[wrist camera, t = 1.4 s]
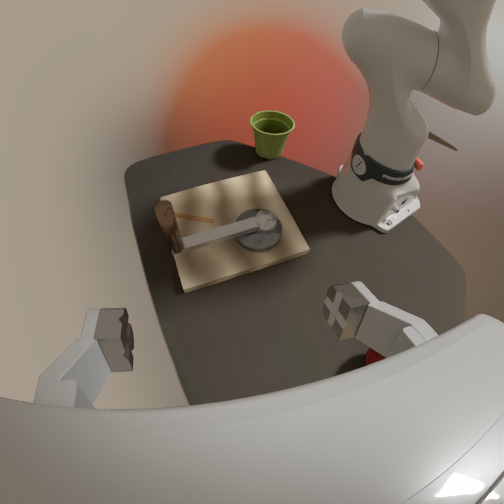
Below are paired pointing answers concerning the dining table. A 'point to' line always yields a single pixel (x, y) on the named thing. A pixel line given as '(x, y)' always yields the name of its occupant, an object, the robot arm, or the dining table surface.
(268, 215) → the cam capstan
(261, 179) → the stand
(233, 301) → the dining table surface
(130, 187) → the dining table surface
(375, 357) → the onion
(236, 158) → the dining table surface
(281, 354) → the dining table surface
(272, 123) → the plant pot
